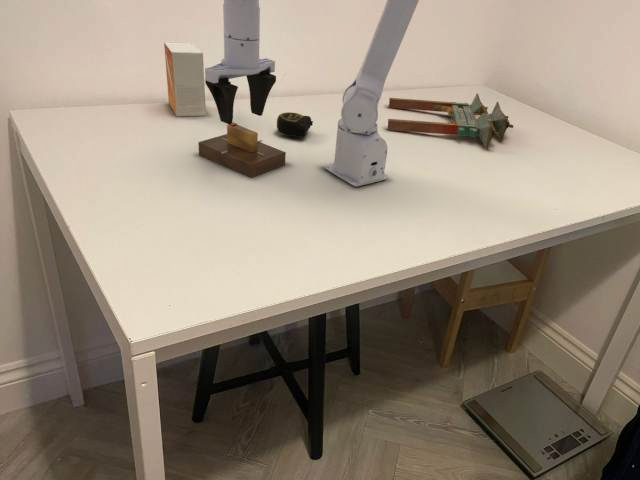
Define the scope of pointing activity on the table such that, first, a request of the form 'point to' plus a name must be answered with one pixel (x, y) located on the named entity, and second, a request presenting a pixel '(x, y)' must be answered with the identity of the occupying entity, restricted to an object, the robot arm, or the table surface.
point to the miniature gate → (454, 119)
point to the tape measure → (293, 124)
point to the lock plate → (242, 156)
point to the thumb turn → (242, 137)
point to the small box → (185, 78)
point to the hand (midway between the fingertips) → (242, 118)
